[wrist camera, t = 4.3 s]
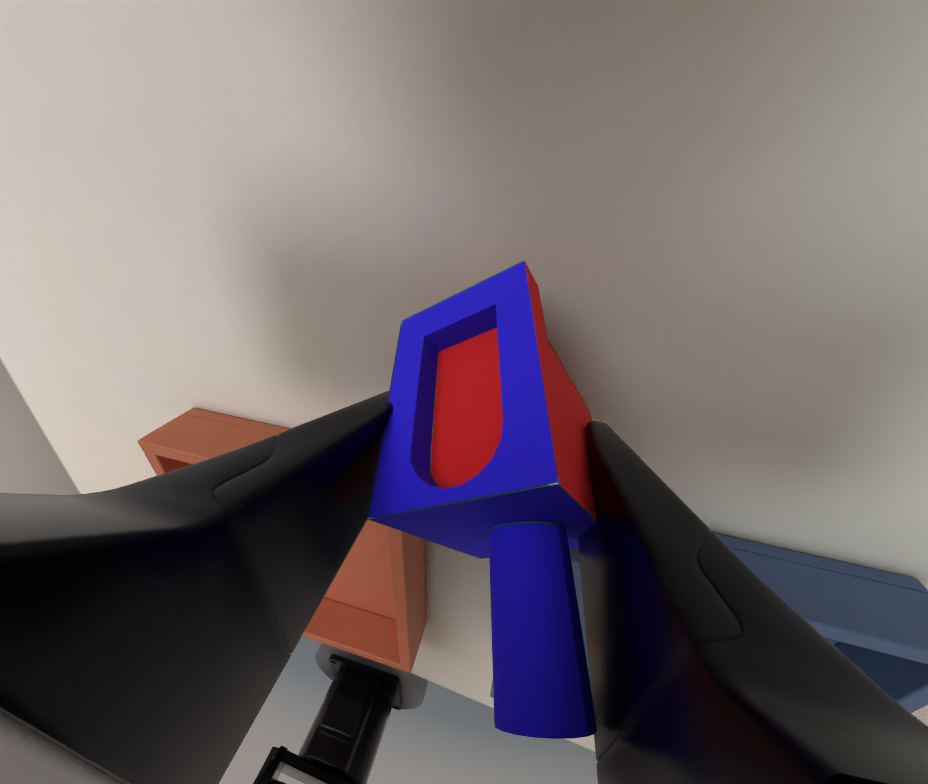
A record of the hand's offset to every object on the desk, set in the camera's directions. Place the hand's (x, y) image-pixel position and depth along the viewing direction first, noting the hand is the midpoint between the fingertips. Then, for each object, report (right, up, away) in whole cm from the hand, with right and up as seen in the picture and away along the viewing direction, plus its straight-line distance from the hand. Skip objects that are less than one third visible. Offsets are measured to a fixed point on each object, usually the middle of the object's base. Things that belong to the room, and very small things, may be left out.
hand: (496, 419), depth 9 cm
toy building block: (+1, +1, +1) cm, 2 cm away
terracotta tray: (-8, -7, +9) cm, 14 cm away
